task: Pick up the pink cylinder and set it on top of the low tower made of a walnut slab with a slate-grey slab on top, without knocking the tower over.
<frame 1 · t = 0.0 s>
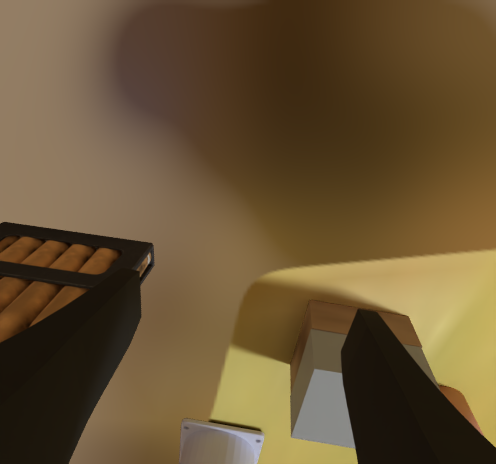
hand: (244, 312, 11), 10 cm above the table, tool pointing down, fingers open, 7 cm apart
ammunition clip: (80, 242, 23), on the table
pink cylinder: (435, 403, 27), on the table
tower top: (350, 373, 23), point 3 cm above the table, touching tower base
tower base: (344, 339, 25), on the table, touching tower top
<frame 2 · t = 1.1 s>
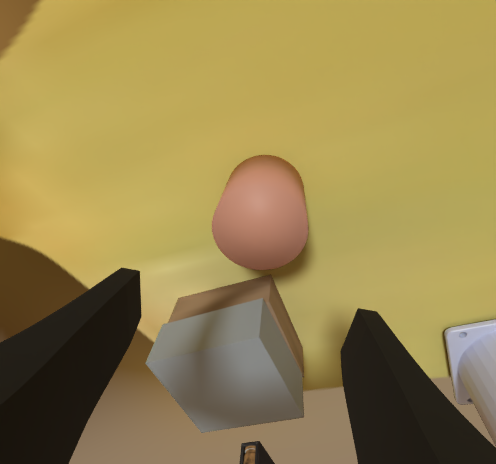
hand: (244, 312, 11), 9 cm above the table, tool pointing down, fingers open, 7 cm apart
pink cylinder: (265, 192, 19), on the table
tower top: (233, 349, 22), point 3 cm above the table, touching tower base
tower base: (242, 319, 25), on the table, touching tower top
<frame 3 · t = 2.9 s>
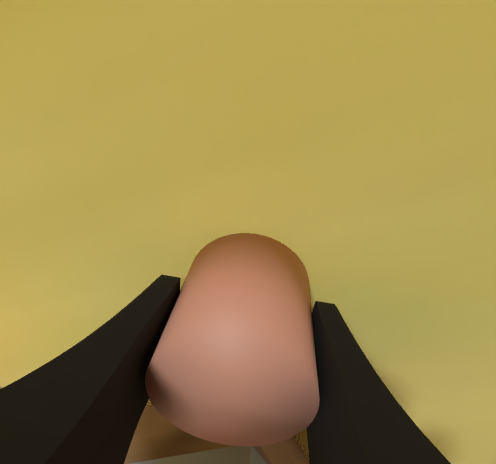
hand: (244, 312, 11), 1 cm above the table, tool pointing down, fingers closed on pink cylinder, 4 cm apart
pink cylinder: (248, 285, 12), on the table, touching gripper
tower base: (227, 430, 18), on the table, touching tower top
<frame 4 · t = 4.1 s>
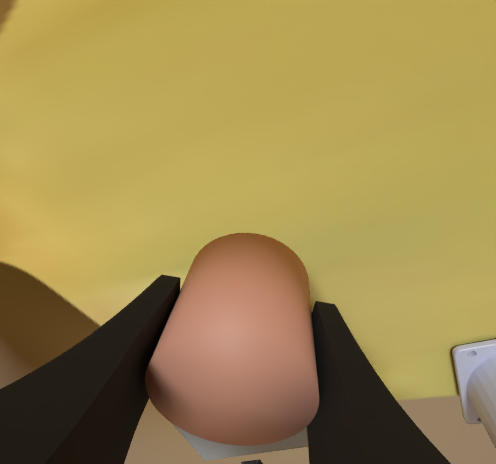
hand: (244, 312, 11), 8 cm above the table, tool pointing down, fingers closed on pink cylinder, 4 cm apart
pink cylinder: (248, 284, 12), point 6 cm above the table, touching gripper
tower top: (237, 371, 21), point 3 cm above the table
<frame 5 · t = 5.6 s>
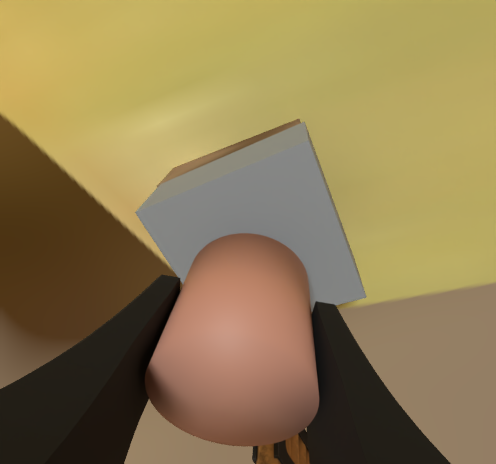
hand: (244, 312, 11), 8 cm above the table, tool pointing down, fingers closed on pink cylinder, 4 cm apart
ammunition clip: (291, 423, 28), on the table
pink cylinder: (248, 284, 12), point 7 cm above the table, touching gripper
tower top: (259, 221, 16), point 3 cm above the table, touching tower base
tower base: (258, 201, 19), on the table, touching tower top
when the fingers open (8 cm above the table, at t = 6.3 s): pink cylinder drops 1 cm, point 6 cm above the table.
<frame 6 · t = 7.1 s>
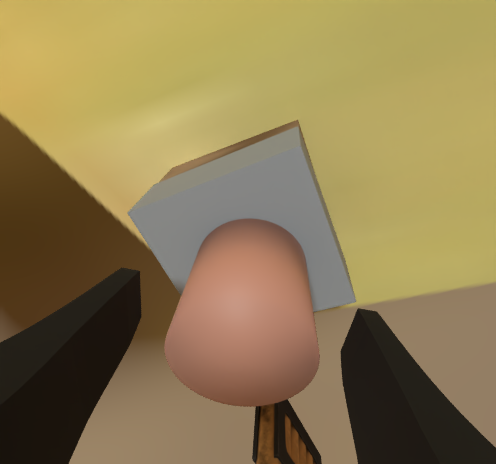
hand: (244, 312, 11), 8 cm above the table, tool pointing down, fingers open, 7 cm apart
ammunition clip: (291, 422, 28), on the table
pink cylinder: (251, 267, 13), point 6 cm above the table
tower top: (252, 223, 16), point 3 cm above the table, touching tower base
tower base: (256, 202, 19), on the table, touching tower top
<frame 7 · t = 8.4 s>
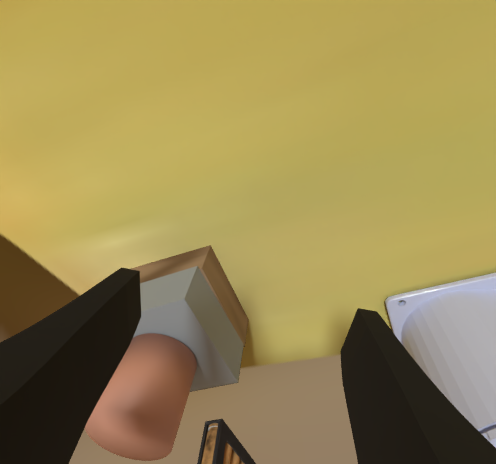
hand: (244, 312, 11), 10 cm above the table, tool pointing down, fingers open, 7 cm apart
ammunition clip: (236, 447, 35), on the table
pink cylinder: (161, 359, 20), point 6 cm above the table, touching tower top
tower top: (175, 319, 22), point 3 cm above the table, touching pink cylinder, tower base
tower base: (189, 292, 25), on the table, touching tower top
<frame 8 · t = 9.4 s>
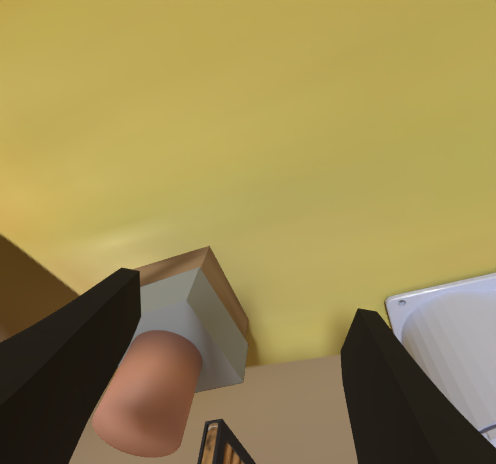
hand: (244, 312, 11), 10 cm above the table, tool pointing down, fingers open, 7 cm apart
ammunition clip: (236, 447, 35), on the table
pink cylinder: (166, 356, 20), point 6 cm above the table, touching tower top
tower top: (180, 321, 23), point 3 cm above the table, touching pink cylinder, tower base
tower base: (189, 292, 25), on the table, touching tower top
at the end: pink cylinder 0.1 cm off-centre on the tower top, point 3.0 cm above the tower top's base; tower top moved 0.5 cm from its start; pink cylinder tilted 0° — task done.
